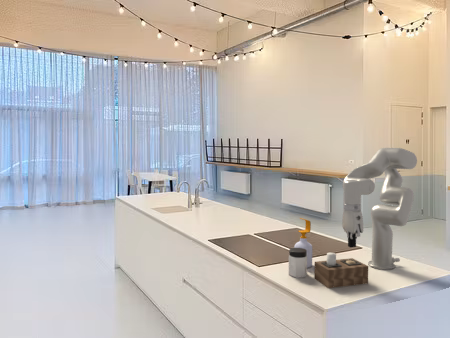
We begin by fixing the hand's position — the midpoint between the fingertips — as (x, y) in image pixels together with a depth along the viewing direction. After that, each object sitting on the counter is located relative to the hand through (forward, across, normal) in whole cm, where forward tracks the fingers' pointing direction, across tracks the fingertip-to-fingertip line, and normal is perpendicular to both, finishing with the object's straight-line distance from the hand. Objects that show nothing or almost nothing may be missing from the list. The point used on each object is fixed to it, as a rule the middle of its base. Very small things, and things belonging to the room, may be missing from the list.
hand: (352, 246), depth 172 cm
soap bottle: (+16, +24, +12) cm, 31 cm away
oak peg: (+15, -1, +1) cm, 15 cm away
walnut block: (+15, -1, +6) cm, 16 cm away
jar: (+15, +12, +21) cm, 29 cm away
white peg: (+10, 0, +11) cm, 15 cm away
